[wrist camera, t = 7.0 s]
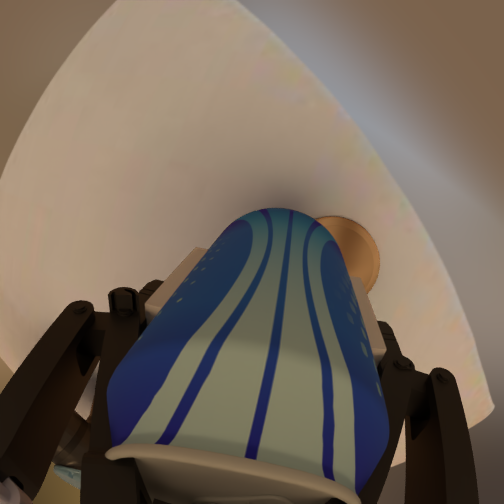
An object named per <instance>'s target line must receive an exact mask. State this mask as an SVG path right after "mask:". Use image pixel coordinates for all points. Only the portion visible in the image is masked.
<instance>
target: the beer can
mask: <svg viewBox="0 0 504 504" xmlns="http://www.w3.org/2000/svg"><path fill="white" fill-rule="evenodd" d="M106 394H107V405H108V415H109V424H110V431H111V439H112V448H111V449H109V450H108V451H107V452H106V453H105V456H106V458H108V459H110V460H116V459H119V458H126V457H133V458H135V461H136V464H137V466H138V469H139V472H140V474H141V477H142V479H143V482H144V484H145V487H146V489H147V492H148V494H149V496H150V499H151V501H152V503H153V500H154V498H155V499H158V500H161V501H164V502H167V503H171V504H325V503H326V502H327V501H328V500H329V499H330V498H338V499H340V500H342V501H344V502H345V503H347V504H361V501H360V498H359V497H358V495H359V493H360V491H361V490H362V488H363V487H364V485H365V484H366V482H367V481H368V479H369V478H370V476H371V474H372V473H373V471H374V469H375V468H376V466H377V464H378V462H379V461H380V459H381V457H382V455H383V453H384V451H385V450H386V447H387V444H388V440H389V419H388V414H387V409H386V405H385V400H384V396H383V392H382V387H381V383H380V379H379V375H378V371H377V367H376V364H375V360H374V356H373V352H372V349H371V345H370V342H369V338H368V334H367V331H366V328H365V324H364V321H363V317H362V314H361V311H360V308H359V304H358V301H357V298H356V295H355V292H354V289H353V285H352V282H351V279H350V276H349V273H348V270H347V267H346V265H345V262H344V259H343V256H342V253H341V250H340V248H339V246H338V244H337V242H336V240H335V239H334V237H333V236H332V235H331V233H330V232H329V231H328V230H327V229H326V228H325V227H324V226H323V225H322V224H320V223H319V222H318V221H316V220H315V219H313V218H312V217H310V216H308V215H306V214H303V213H301V212H298V211H294V210H291V209H284V208H267V209H261V210H257V211H253V212H250V213H248V214H246V215H244V216H242V217H240V218H238V219H237V220H235V221H234V222H233V223H231V224H230V225H229V226H228V227H227V228H226V229H225V230H224V231H223V233H222V234H221V235H220V236H219V237H218V239H217V240H216V241H215V242H214V243H213V245H212V246H211V247H210V248H209V250H208V251H207V252H206V253H205V254H204V256H203V257H202V258H201V259H200V261H199V262H198V263H197V264H196V266H195V267H194V268H193V269H192V271H191V272H190V273H189V274H188V276H187V277H186V278H185V279H184V281H183V282H182V283H181V284H180V286H179V287H178V288H177V289H176V291H175V292H174V293H173V294H172V296H171V297H170V298H169V299H168V301H167V302H166V303H165V305H164V306H163V307H162V308H161V310H160V311H159V312H158V314H157V315H156V316H155V317H154V319H153V320H152V321H151V323H150V324H149V325H148V326H147V328H146V329H145V330H144V332H143V333H142V334H141V336H140V337H139V338H138V340H137V341H136V342H135V343H134V345H133V346H132V347H131V349H130V350H129V351H128V353H127V354H126V355H125V357H124V358H123V359H122V361H121V362H120V363H119V365H118V366H117V367H116V369H115V371H114V373H113V375H112V377H111V379H110V381H109V384H108V388H107V393H106Z"/></svg>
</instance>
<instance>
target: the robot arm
mask: <svg viewBox="0 0 504 504" xmlns="http://www.w3.org/2000/svg"><path fill="white" fill-rule="evenodd" d="M207 251H208V249H202V248H197V247H196V248H195V249H194V250H193V251H192V252H191V253H190V254H189V255H188V256H187V257H186V258H185V259H184V261H183V262H182V263H181V264H180V265H179V266H178V267H177V268H176V269H175V270H174V271H173V272H172V274H171V275H170V276H169V277H168V278H167V279H166V280H165V281H160V280H153V281H151V282H149V283H147V284H146V285H145V286H144V287H143V289H141V290H140V291H139V293H138V292H137V291H136V290H135V289H132V288H128V287H119V288H116V289H113V290H112V291H110V292H109V294H108V299H109V308H110V312H95V311H94V307H93V304H92V303H90V302H88V301H82V300H79V301H75V302H72V303H70V304H69V305H68V306H67V307H66V308H65V309H64V310H63V312H62V313H61V314H60V315H59V316H58V318H57V319H56V320H55V321H54V323H53V324H52V325H51V326H50V327H49V329H48V330H47V331H46V332H45V334H44V335H43V336H42V338H41V339H40V340H39V341H38V343H37V344H36V345H35V347H34V348H33V349H32V350H31V352H30V353H29V354H28V356H27V357H26V358H25V360H24V361H23V363H22V364H21V365H20V367H19V368H18V369H17V371H16V372H15V374H14V375H13V376H12V378H11V379H10V381H9V382H8V384H7V385H6V387H5V388H4V390H3V391H2V393H1V394H0V504H33V503H32V501H33V500H34V498H35V496H36V495H37V493H38V492H39V490H40V488H41V486H42V483H43V481H44V479H45V477H46V474H47V472H48V469H49V466H50V464H51V462H53V463H55V465H54V472H55V474H56V475H58V476H59V477H60V478H61V479H63V480H64V481H66V482H67V483H69V484H71V485H73V486H74V487H76V488H78V489H80V504H171V503H167V502H164V501H161V500H158V499H155V498H154V500H153V503H152V501H151V499H150V496H149V494H148V492H147V489H146V487H145V484H144V482H143V479H142V477H141V474H140V472H139V469H138V466H137V464H136V461H135V458H133V457H126V458H119V459H116V460H110V459H108V458H106V456H105V453H106V452H107V451H108V450H109V449H111V448H112V439H111V431H110V424H109V415H108V405H107V394H106V393H107V388H108V384H109V381H110V379H111V377H112V375H113V373H114V371H115V369H116V367H117V366H118V365H119V363H120V362H121V361H122V359H123V358H124V357H125V355H126V354H127V353H128V351H129V350H130V349H131V347H132V346H133V345H134V343H135V342H136V341H137V340H138V338H139V337H140V336H141V334H142V333H143V332H144V330H145V329H146V328H147V326H148V325H149V324H150V323H151V321H152V320H153V319H154V317H155V316H156V315H157V314H158V312H159V311H160V310H161V308H162V307H163V306H164V305H165V303H166V302H167V301H168V299H169V298H170V297H171V296H172V294H173V293H174V292H175V291H176V289H177V288H178V287H179V286H180V284H181V283H182V282H183V281H184V279H185V278H186V277H187V276H188V274H189V273H190V272H191V271H192V269H193V268H194V267H195V266H196V264H197V263H198V262H199V261H200V259H201V258H202V257H203V256H204V254H205V253H206V252H207ZM350 279H351V282H352V285H353V289H354V292H355V295H356V298H357V301H358V304H359V308H360V311H361V314H362V317H363V321H364V324H365V328H366V331H367V334H368V338H369V342H370V345H371V349H372V352H373V356H374V360H375V364H376V367H377V371H378V375H379V379H380V383H381V387H382V392H383V396H384V400H385V405H386V409H387V414H388V419H389V440H388V444H387V447H386V450H385V451H384V453H383V455H382V457H381V459H380V461H379V462H378V464H377V466H376V468H375V469H374V471H373V473H372V474H371V476H370V478H369V479H368V481H367V482H366V484H365V485H364V487H363V488H362V490H361V491H360V493H359V495H358V497H359V498H360V501H361V504H377V501H378V499H379V496H380V494H381V492H382V489H383V486H384V484H385V481H386V478H387V475H388V472H389V470H390V467H391V464H392V460H393V457H394V454H395V451H396V448H397V444H398V441H399V437H400V434H401V430H402V426H403V423H404V419H405V436H406V484H405V485H406V486H405V503H404V504H479V498H478V488H477V479H476V472H475V465H474V458H473V452H472V447H471V441H470V436H469V431H468V427H467V422H466V418H465V413H464V409H463V405H462V401H461V397H460V394H459V390H458V386H457V383H456V379H455V377H454V375H453V374H452V373H451V372H450V371H448V370H447V369H444V368H434V369H433V370H432V371H431V372H430V374H429V375H428V374H425V373H422V372H419V371H416V370H415V366H414V364H413V362H412V361H411V360H410V359H408V358H406V357H405V356H402V353H401V351H400V348H399V345H398V343H397V341H396V338H395V336H394V333H393V330H392V328H391V327H390V326H389V325H388V324H387V323H386V322H383V321H377V320H376V317H375V314H374V312H373V309H372V306H371V304H370V301H369V298H368V296H367V293H366V290H365V288H364V285H363V283H362V280H361V278H359V277H354V276H350ZM99 360H100V363H99V369H98V375H97V381H96V388H95V395H94V399H93V403H92V407H91V411H90V415H89V417H88V418H87V420H85V419H83V418H82V417H81V416H80V415H79V414H78V413H77V412H76V411H75V408H76V406H77V404H78V401H79V399H80V397H81V395H82V393H83V391H84V389H85V387H86V385H87V383H88V381H89V379H90V377H91V375H92V373H93V372H94V370H95V368H96V366H97V364H98V362H99ZM325 504H347V503H345V502H344V501H342V500H340V499H338V498H330V499H329V500H328V501H327V502H326V503H325Z"/></svg>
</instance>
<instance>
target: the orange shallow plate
mask: <svg viewBox="0 0 504 504" xmlns="http://www.w3.org/2000/svg"><path fill="white" fill-rule="evenodd" d="M315 220H316V221H318V222H319V223H320V224H322V225H323V226H324V227H325V228H326V229H327V230H328V231H329V232H330V233H331V235H332V236H333V237H334V239H335V240H336V242H337V244H338V246H339V248H340V250H341V253H342V256H343V259H344V262H345V265H346V267H347V270H348V273H349V276H354V277H359V278H361V280H362V283H363V285H364V288H365V290H366V293H367V294H368V293H369V291H370V290H371V289H372V287H373V285H374V284H375V282H376V279H377V277H378V273H379V267H380V258H379V252H378V249H377V246H376V244H375V242H374V240H373V239H372V237H371V236H370V234H369V233H368V232H367V231H366V230H365V229H364V228H363V227H362V226H360V225H359V224H357V223H356V222H354V221H352V220H349V219H346V218H342V217H331V216H330V217H322V218H318V219H315Z"/></svg>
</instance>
